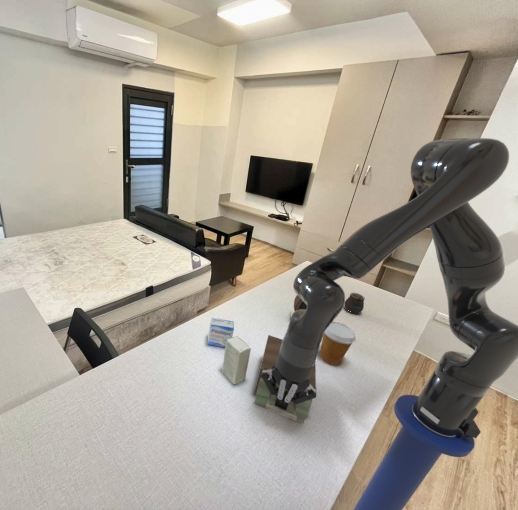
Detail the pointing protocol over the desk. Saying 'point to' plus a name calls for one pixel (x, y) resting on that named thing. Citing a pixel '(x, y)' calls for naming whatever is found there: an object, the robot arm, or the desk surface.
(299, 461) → the desk surface
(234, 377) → the cosmetic box
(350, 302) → the mate gourd
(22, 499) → the desk surface
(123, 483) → the desk surface
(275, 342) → the cabinet
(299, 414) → the drawer
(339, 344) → the disposable coffee cup
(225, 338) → the medicine box
